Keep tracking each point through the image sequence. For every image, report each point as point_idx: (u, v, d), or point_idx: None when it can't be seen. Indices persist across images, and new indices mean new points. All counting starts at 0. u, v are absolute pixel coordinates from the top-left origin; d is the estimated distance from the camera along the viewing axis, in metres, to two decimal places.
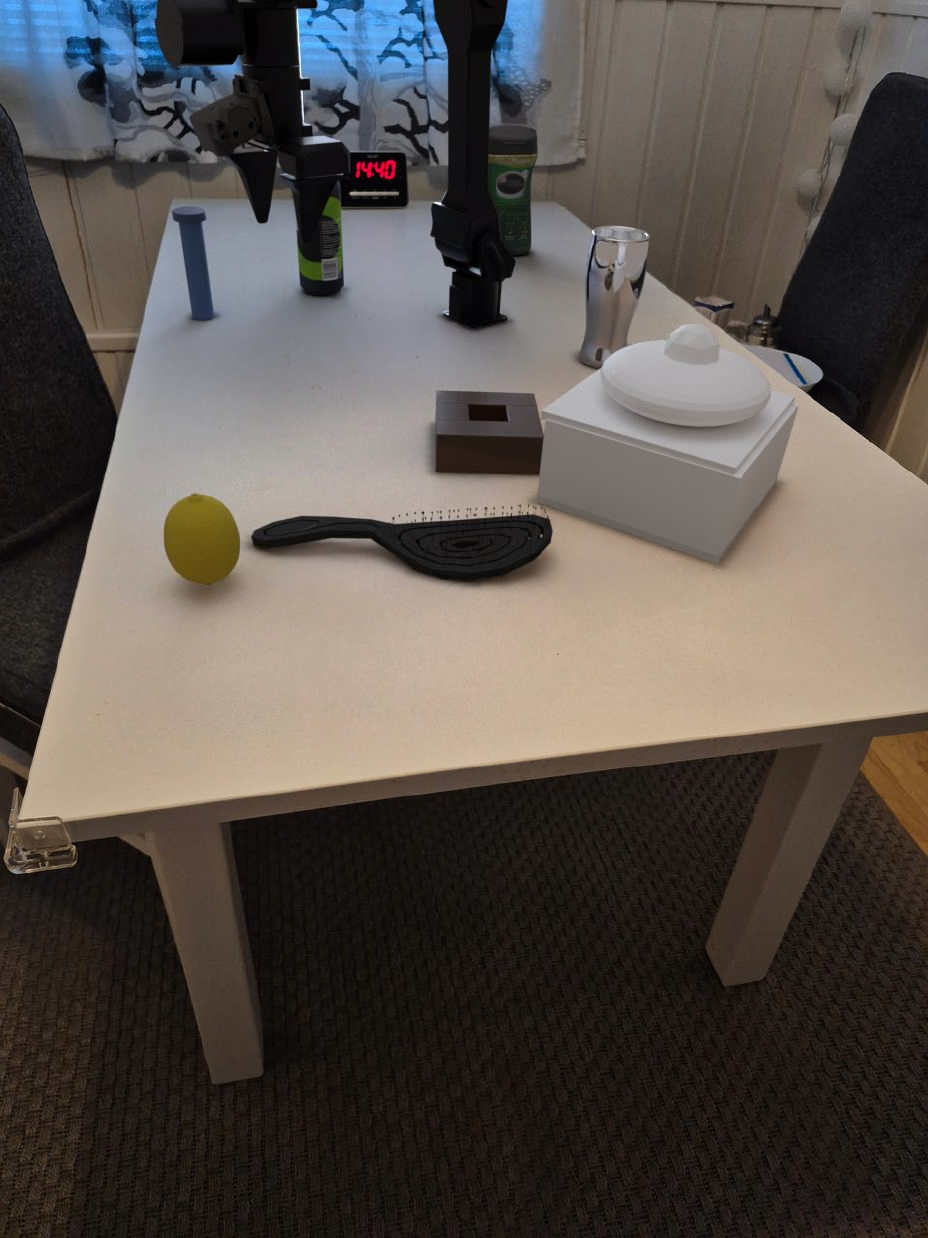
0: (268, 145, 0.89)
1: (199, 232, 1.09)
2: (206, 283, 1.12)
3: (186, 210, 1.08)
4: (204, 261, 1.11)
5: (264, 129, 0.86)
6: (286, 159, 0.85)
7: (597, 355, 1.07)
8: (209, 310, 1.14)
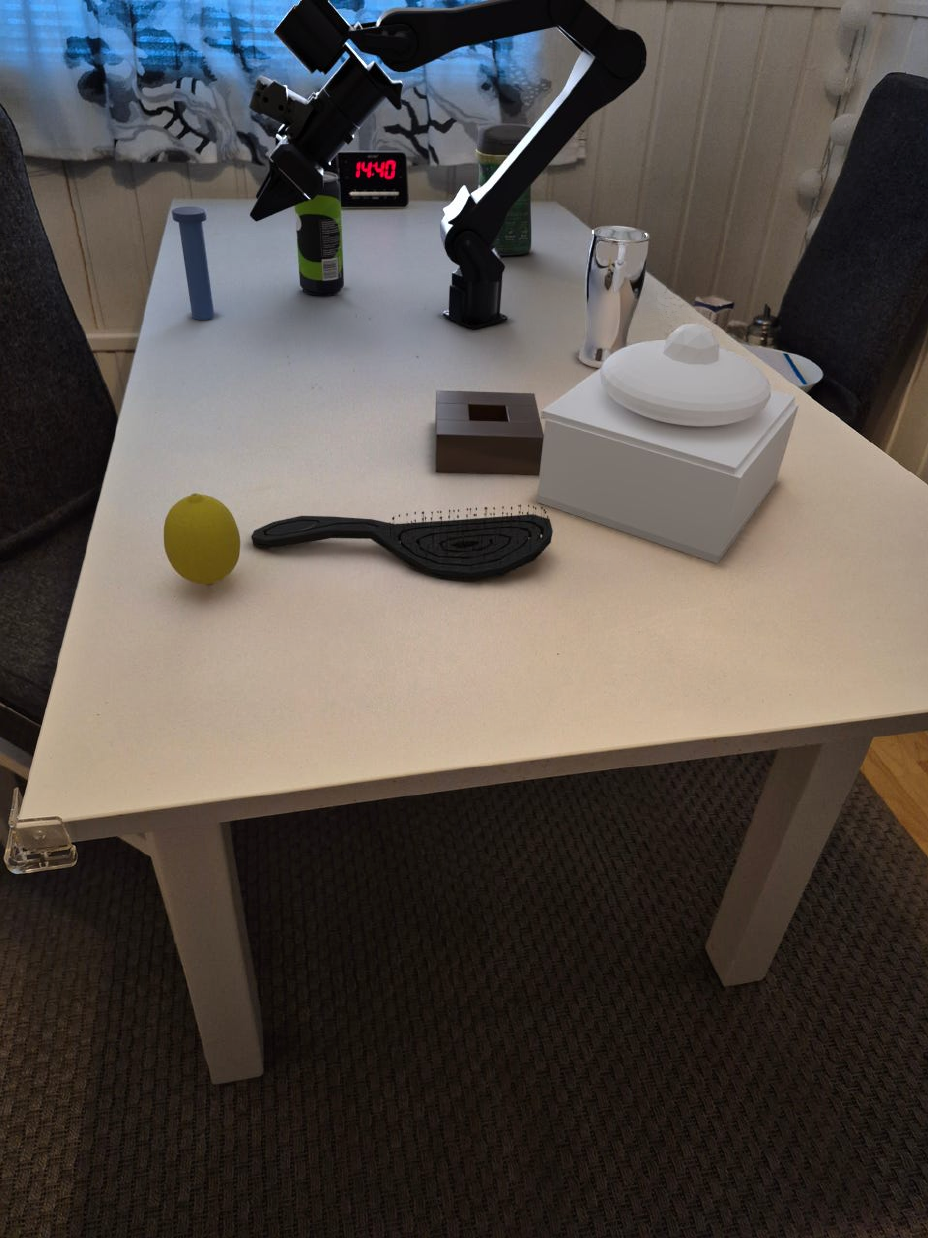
0: None
1: (199, 232, 1.09)
2: (206, 283, 1.12)
3: (186, 210, 1.08)
4: (204, 261, 1.11)
5: (292, 125, 1.01)
6: (278, 144, 0.98)
7: (597, 355, 1.07)
8: (209, 310, 1.14)
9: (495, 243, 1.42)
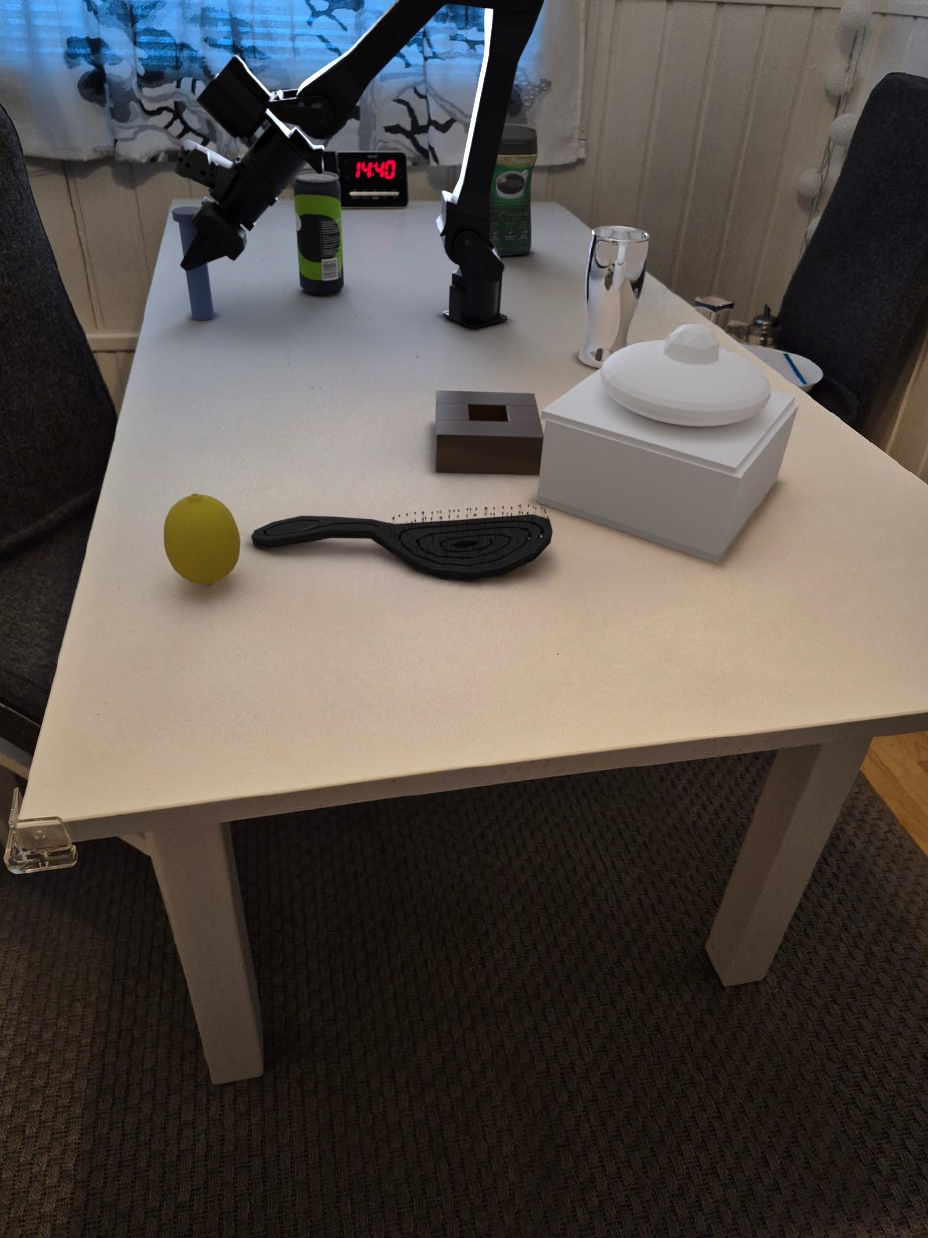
0: None
1: None
2: (206, 283, 1.12)
3: (186, 210, 1.08)
4: None
5: (216, 189, 1.04)
6: (199, 208, 1.01)
7: (597, 355, 1.07)
8: (209, 310, 1.14)
9: (495, 243, 1.42)
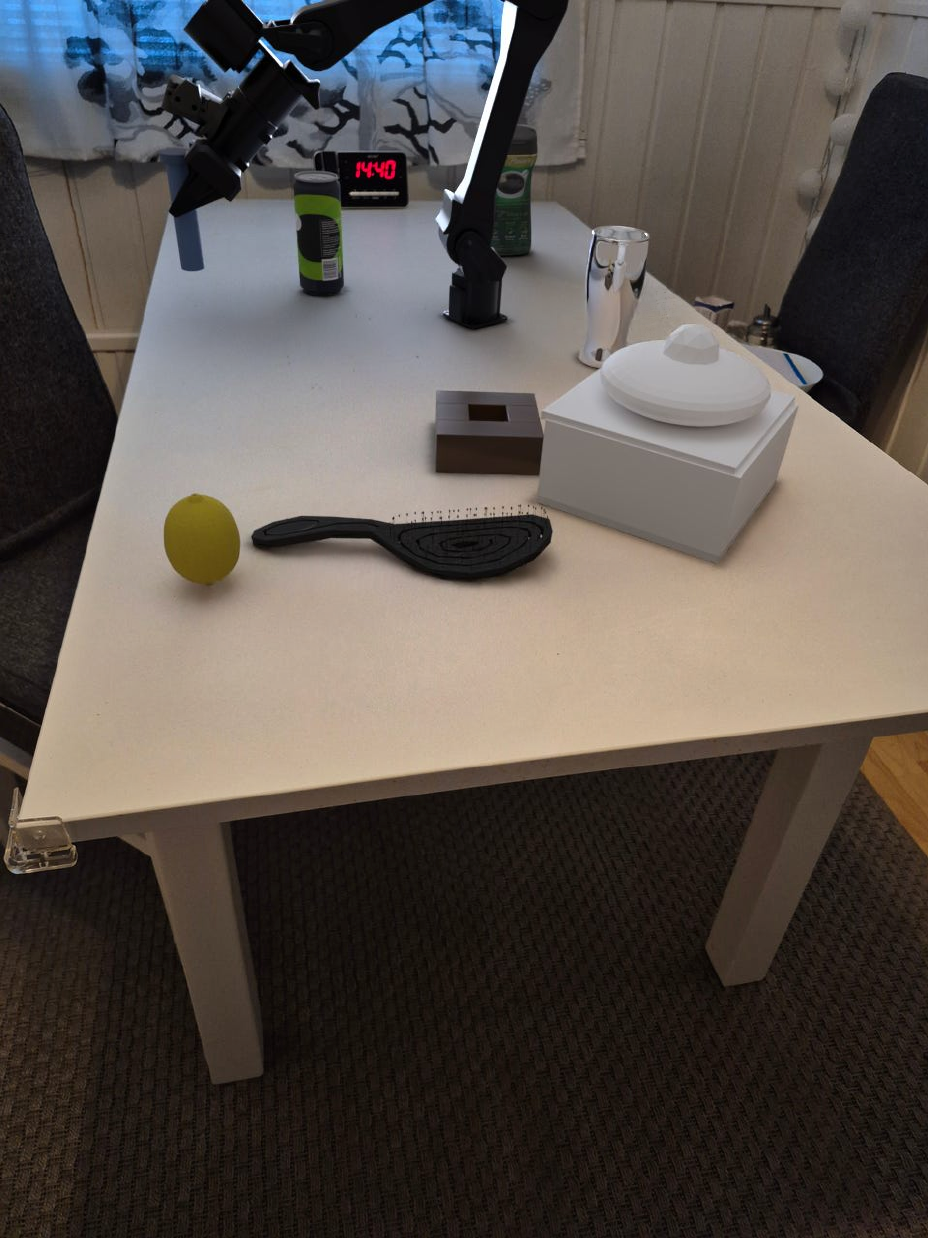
0: None
1: None
2: (196, 231, 1.06)
3: (174, 151, 1.01)
4: None
5: (207, 126, 0.98)
6: (192, 145, 0.95)
7: (597, 355, 1.07)
8: (199, 260, 1.08)
9: (495, 243, 1.42)
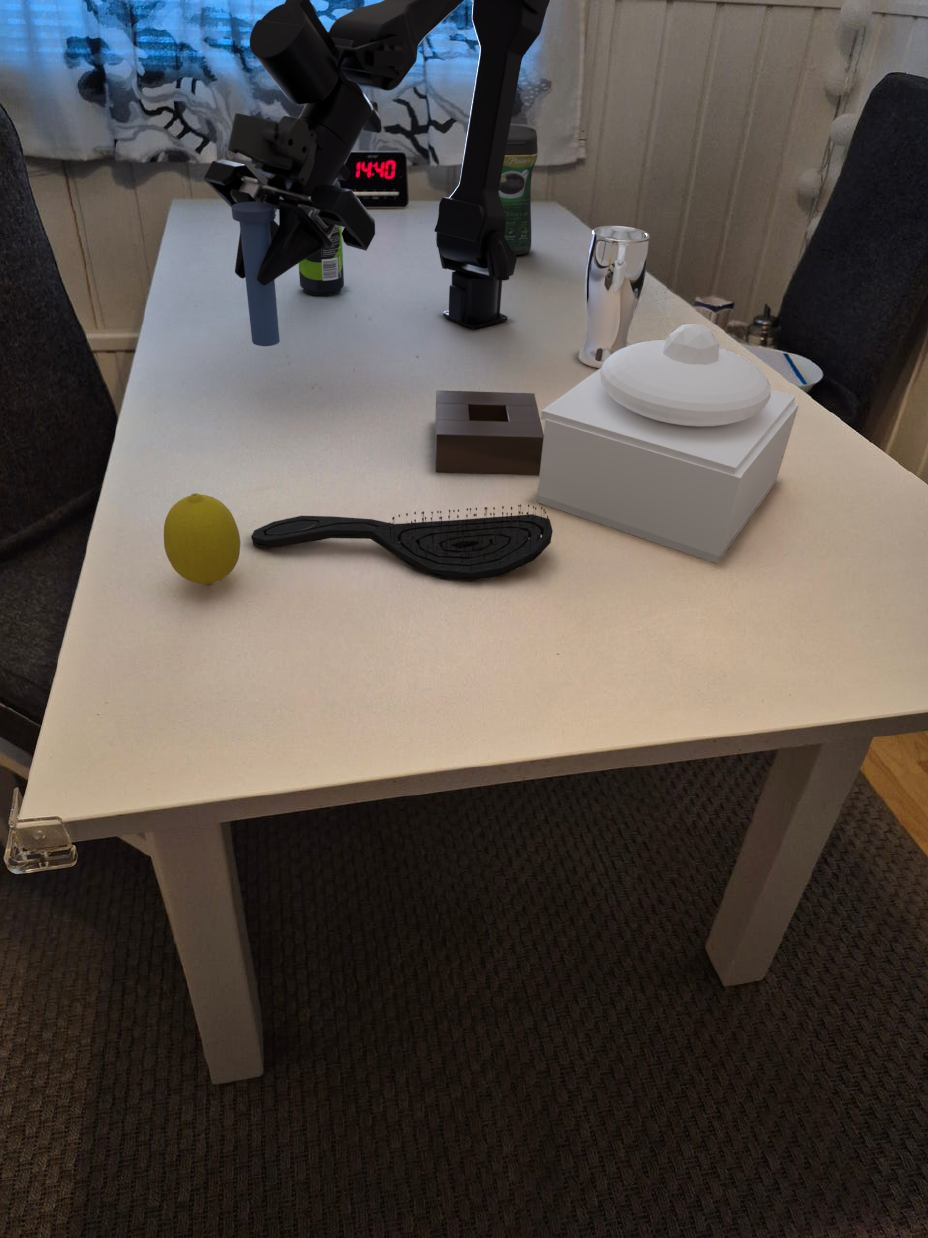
0: (311, 198, 0.83)
1: None
2: (275, 296, 0.89)
3: (251, 207, 0.83)
4: None
5: (303, 169, 0.82)
6: (325, 194, 0.80)
7: (597, 355, 1.07)
8: (278, 330, 0.91)
9: None
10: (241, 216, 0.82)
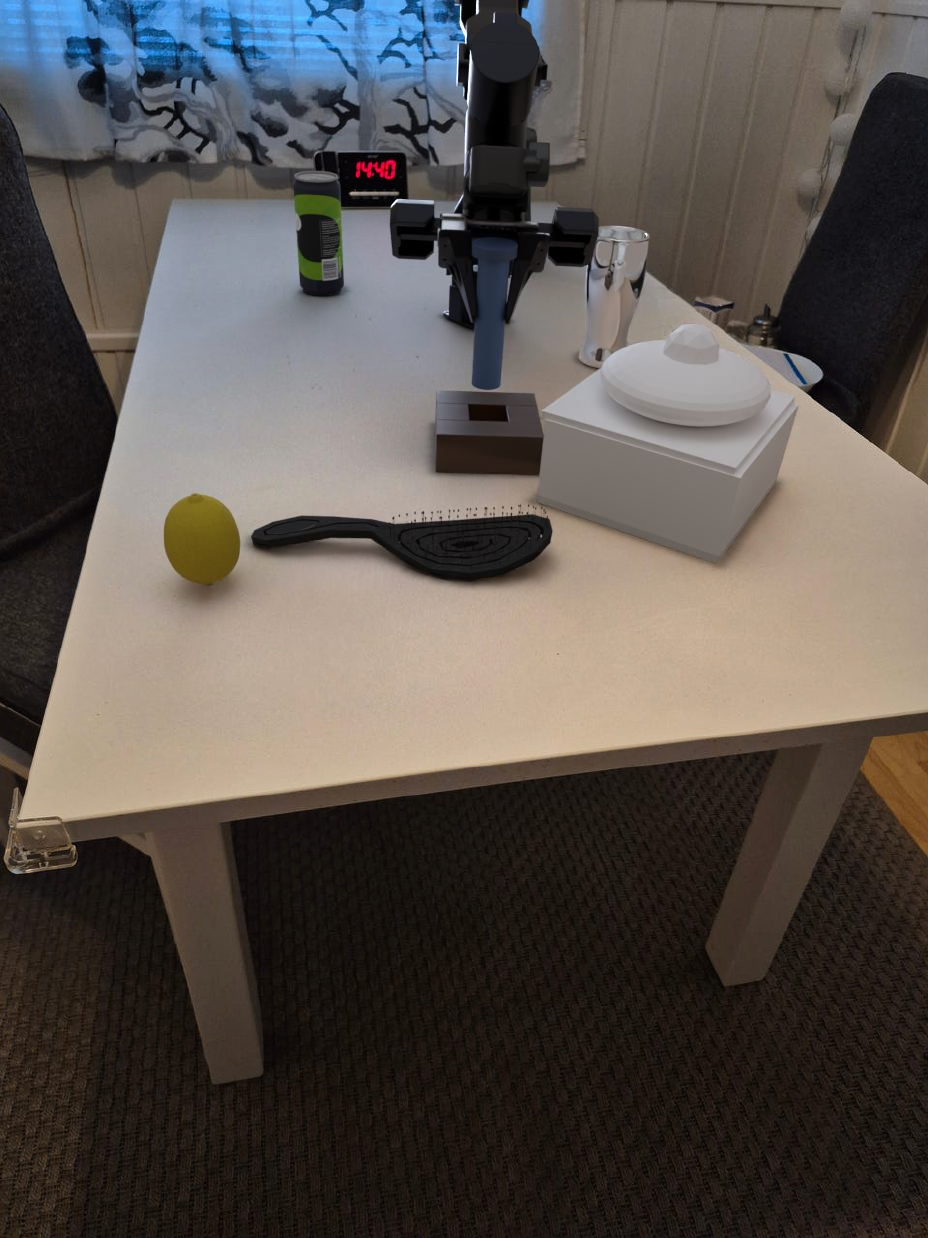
0: (538, 223, 0.80)
1: None
2: None
3: (496, 244, 0.77)
4: None
5: None
6: (574, 216, 0.78)
7: (597, 355, 1.07)
8: None
9: None
10: (500, 255, 0.76)
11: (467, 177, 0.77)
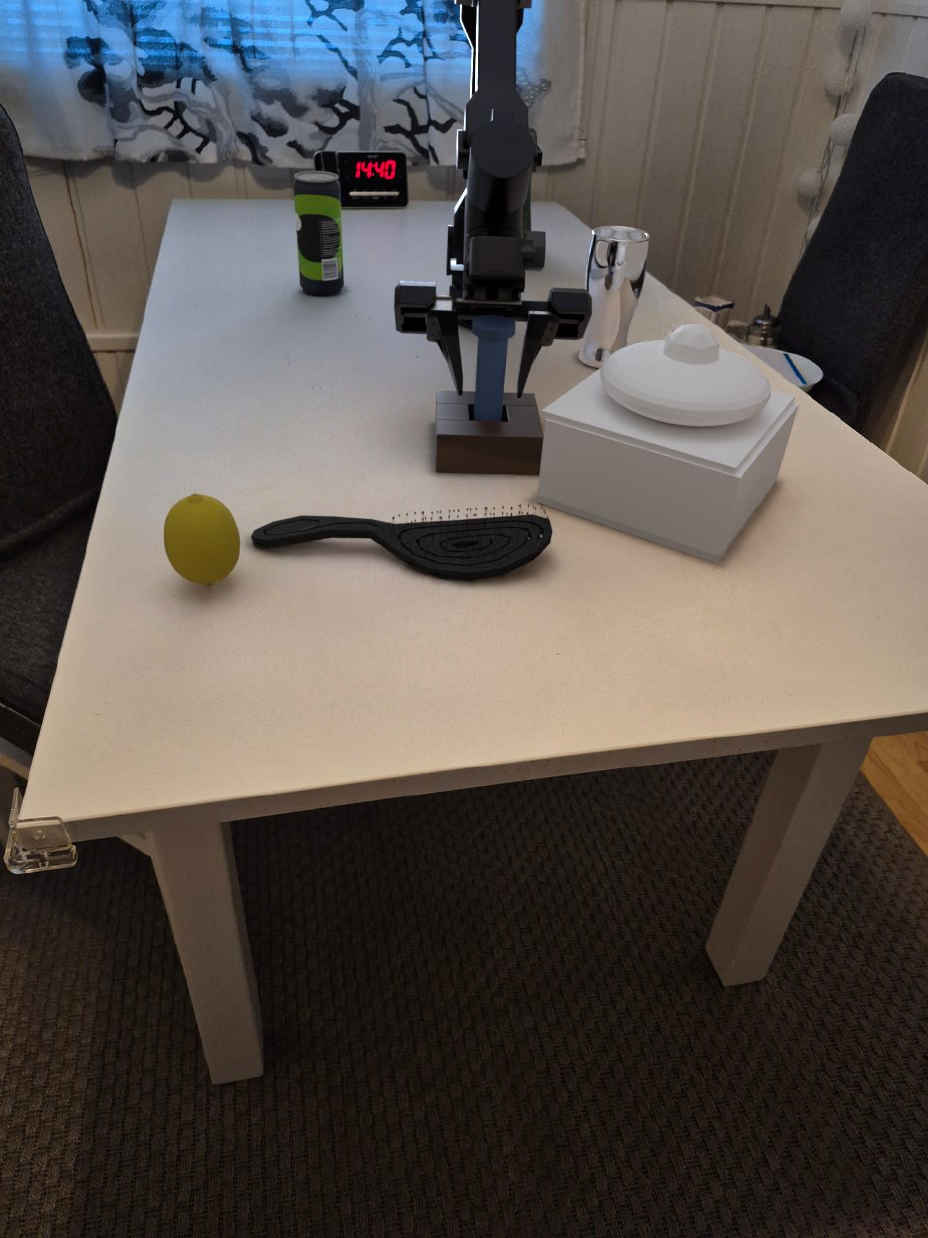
0: None
1: None
2: None
3: (495, 322, 0.81)
4: None
5: None
6: (569, 297, 0.83)
7: (597, 355, 1.07)
8: None
9: None
10: (499, 334, 0.80)
11: (467, 262, 0.81)
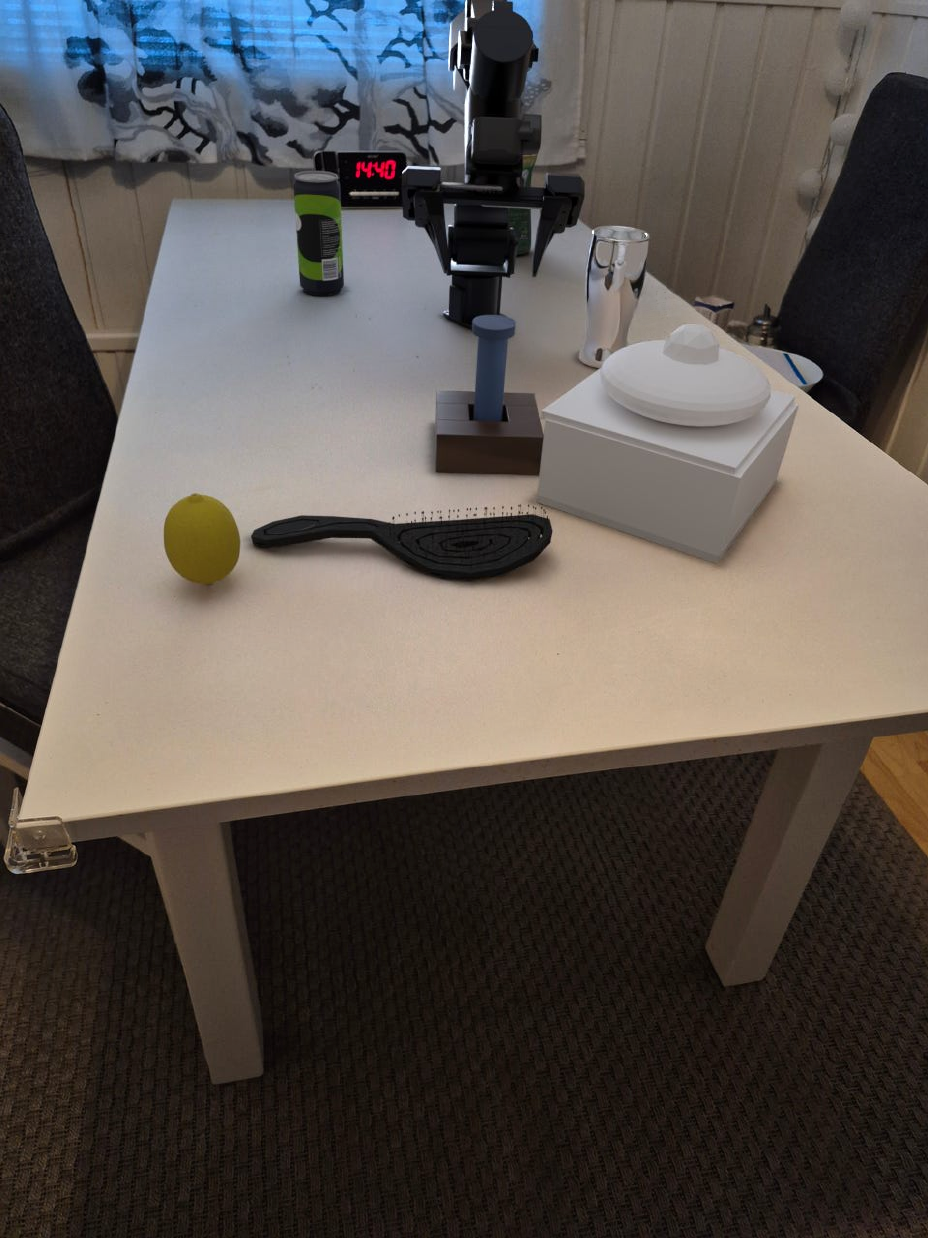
0: (502, 186, 0.91)
1: None
2: None
3: (495, 323, 0.81)
4: None
5: (522, 162, 0.90)
6: (563, 180, 0.89)
7: (597, 355, 1.07)
8: None
9: None
10: (499, 334, 0.80)
11: (469, 146, 0.88)
